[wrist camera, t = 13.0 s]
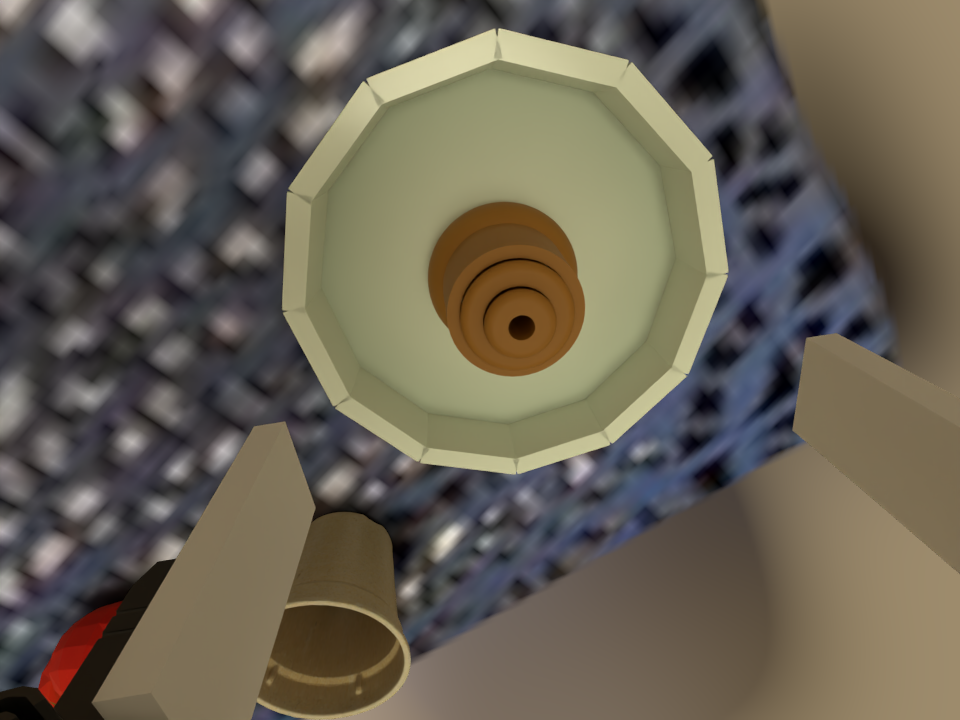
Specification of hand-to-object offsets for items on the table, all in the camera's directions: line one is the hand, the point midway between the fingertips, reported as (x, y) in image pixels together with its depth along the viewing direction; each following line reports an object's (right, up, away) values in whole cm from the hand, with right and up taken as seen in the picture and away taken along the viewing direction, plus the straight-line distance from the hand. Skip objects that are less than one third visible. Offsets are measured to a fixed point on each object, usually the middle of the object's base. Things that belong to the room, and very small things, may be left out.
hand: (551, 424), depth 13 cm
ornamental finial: (-1, +6, +14) cm, 15 cm away
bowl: (-1, +7, +15) cm, 16 cm away
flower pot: (-11, -11, +22) cm, 27 cm away
